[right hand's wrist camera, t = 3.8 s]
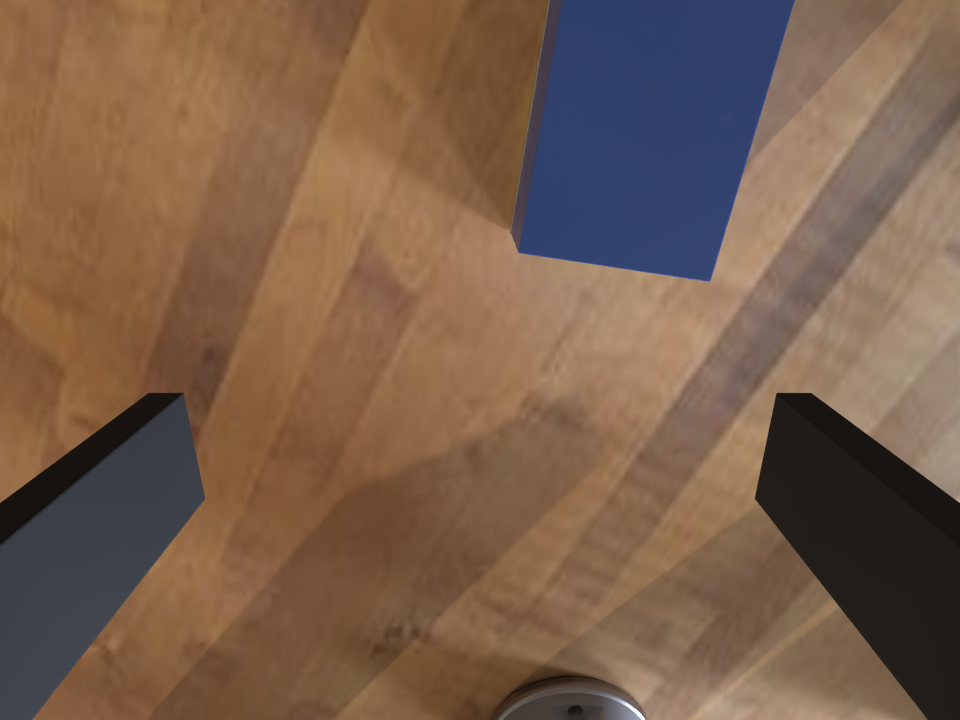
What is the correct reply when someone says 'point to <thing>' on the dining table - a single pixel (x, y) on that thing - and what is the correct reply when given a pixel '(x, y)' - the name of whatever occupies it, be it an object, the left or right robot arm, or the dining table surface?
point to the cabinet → (643, 129)
